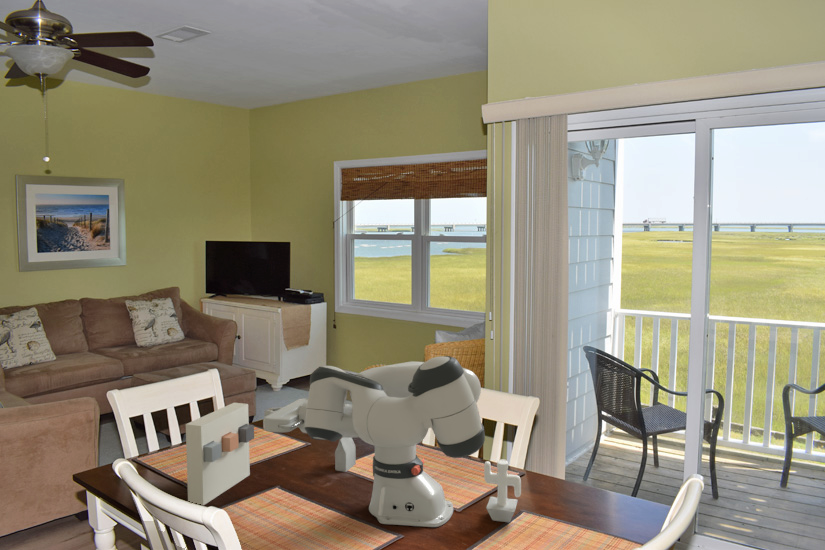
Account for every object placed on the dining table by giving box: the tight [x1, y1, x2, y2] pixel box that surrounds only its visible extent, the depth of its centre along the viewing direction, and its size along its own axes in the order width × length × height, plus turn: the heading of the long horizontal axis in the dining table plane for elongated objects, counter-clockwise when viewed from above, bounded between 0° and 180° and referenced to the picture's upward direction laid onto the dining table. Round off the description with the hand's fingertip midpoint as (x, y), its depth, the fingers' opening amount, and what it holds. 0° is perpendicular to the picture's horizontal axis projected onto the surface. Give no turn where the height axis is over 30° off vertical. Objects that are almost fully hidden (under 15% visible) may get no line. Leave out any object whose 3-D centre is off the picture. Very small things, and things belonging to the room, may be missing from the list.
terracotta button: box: [222, 433, 238, 452], centre depth 177 cm, size 4×4×4 cm
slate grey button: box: [203, 442, 221, 462], centre depth 170 cm, size 4×4×4 cm
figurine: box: [483, 458, 522, 523], centre depth 160 cm, size 7×9×15 cm
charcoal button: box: [238, 424, 255, 443], centre depth 185 cm, size 4×4×4 cm
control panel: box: [185, 402, 251, 506], centre depth 178 cm, size 5×22×22 cm, turn 161°
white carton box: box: [334, 437, 357, 473], centre depth 194 cm, size 4×7×10 cm, turn 159°
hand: (267, 412), depth 172 cm, fingers closed
